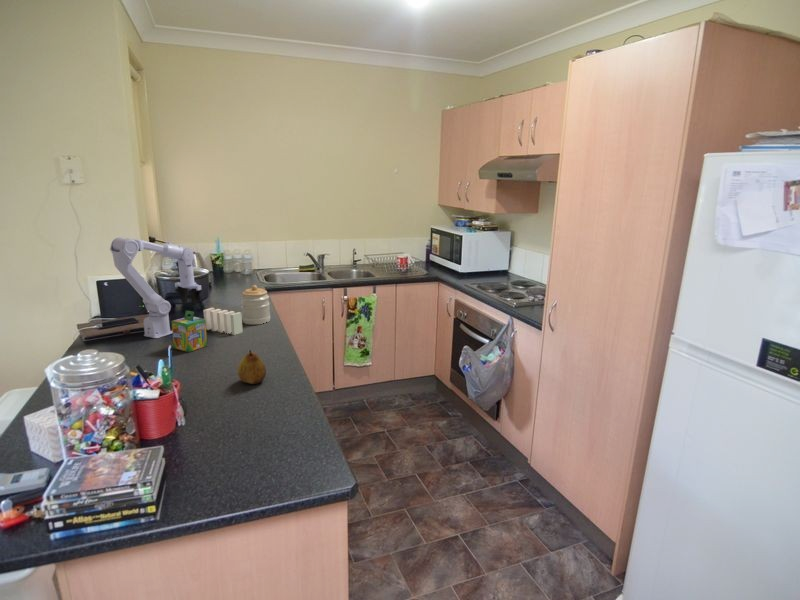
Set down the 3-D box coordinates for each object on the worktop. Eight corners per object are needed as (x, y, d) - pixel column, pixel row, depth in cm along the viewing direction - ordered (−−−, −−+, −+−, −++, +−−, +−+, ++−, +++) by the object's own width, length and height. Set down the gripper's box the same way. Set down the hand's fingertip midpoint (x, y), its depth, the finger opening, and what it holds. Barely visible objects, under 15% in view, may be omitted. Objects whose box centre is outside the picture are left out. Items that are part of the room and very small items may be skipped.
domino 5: (242, 332, 206) (241, 312, 204) (234, 335, 202) (233, 315, 200) (239, 331, 207) (238, 312, 205) (231, 334, 203) (230, 314, 200)
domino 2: (222, 328, 211) (221, 309, 209) (214, 331, 207) (212, 311, 205) (219, 327, 212) (218, 308, 210) (211, 330, 208) (209, 311, 205)
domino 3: (229, 329, 210) (227, 310, 207) (220, 332, 205) (219, 312, 203) (226, 329, 210) (225, 309, 208) (218, 332, 206) (216, 312, 204)
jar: (274, 318, 228) (272, 282, 224) (264, 325, 216) (262, 288, 212) (248, 317, 230) (246, 281, 225) (237, 324, 217) (234, 287, 213)
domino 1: (216, 327, 213) (214, 308, 211) (207, 329, 209) (205, 310, 206) (213, 326, 214) (211, 307, 211) (205, 329, 209) (203, 310, 207)
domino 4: (235, 330, 208) (234, 311, 206) (227, 333, 204) (226, 314, 201) (233, 330, 208) (231, 310, 206) (225, 333, 204) (223, 313, 202)
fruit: (250, 374, 161) (248, 341, 158) (271, 379, 158) (270, 345, 155) (232, 384, 153) (229, 349, 150) (255, 389, 150) (252, 353, 147)
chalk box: (173, 349, 185) (169, 312, 181) (192, 342, 192) (189, 307, 189) (189, 353, 180) (185, 316, 177) (208, 346, 188) (205, 310, 185)
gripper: (205, 274, 208) (208, 303, 212) (182, 271, 214) (186, 300, 218) (192, 277, 202) (196, 307, 206) (169, 274, 208) (173, 303, 212)
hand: (190, 304), depth 211 cm, fingers open, 6 cm apart
